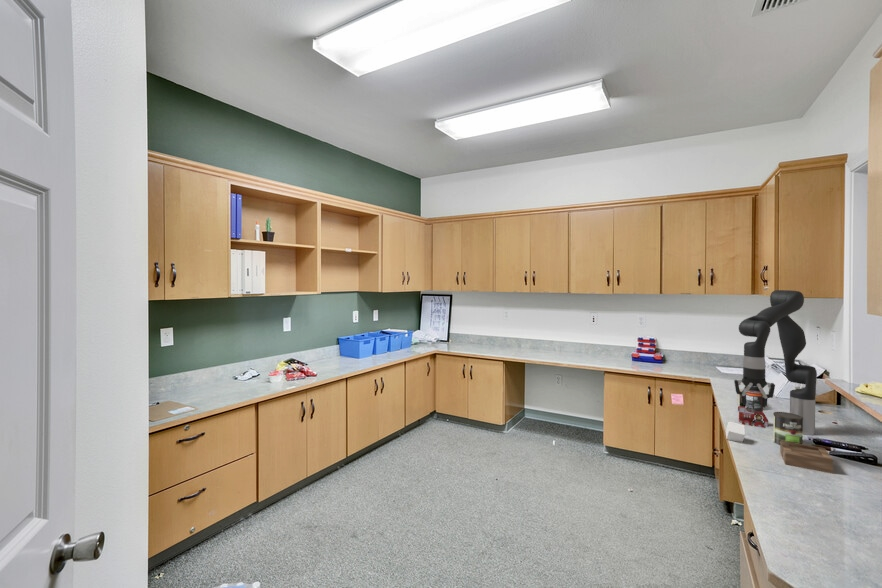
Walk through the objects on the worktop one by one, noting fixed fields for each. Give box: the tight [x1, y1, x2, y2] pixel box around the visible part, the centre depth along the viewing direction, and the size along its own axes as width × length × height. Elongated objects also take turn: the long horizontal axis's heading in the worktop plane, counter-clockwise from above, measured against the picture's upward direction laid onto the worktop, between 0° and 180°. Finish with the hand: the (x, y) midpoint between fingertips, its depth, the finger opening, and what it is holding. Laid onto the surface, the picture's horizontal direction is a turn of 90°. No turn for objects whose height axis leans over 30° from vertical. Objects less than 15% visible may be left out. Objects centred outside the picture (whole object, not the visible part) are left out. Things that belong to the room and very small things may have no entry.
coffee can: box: [772, 411, 804, 446], centre depth 179 cm, size 10×10×14 cm
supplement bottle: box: [744, 386, 764, 413], centre depth 169 cm, size 6×6×11 cm
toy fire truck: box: [737, 405, 769, 429], centre depth 203 cm, size 7×12×10 cm, turn 56°
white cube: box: [725, 421, 746, 443], centre depth 184 cm, size 6×6×6 cm
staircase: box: [736, 388, 744, 408], centre depth 230 cm, size 9×11×17 cm
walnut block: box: [779, 441, 834, 474], centre depth 161 cm, size 14×14×6 cm
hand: (753, 405), depth 169 cm, fingers closed on supplement bottle, 6 cm apart
